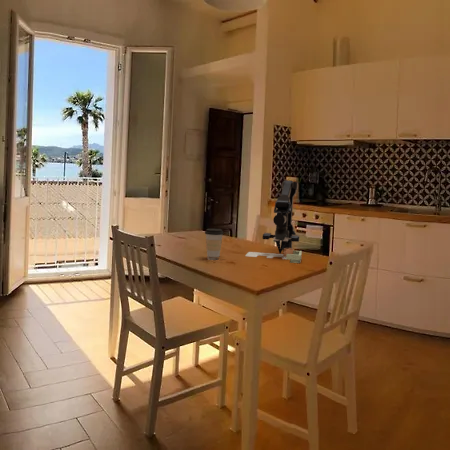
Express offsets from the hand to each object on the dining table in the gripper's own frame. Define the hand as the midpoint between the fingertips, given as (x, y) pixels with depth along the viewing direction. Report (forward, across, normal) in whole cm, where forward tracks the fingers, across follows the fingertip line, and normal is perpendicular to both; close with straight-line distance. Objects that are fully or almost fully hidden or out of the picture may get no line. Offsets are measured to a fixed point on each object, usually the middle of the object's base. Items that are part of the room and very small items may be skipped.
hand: (280, 253), depth 242 cm
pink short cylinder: (+1, +4, 0) cm, 4 cm away
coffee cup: (+3, -32, -16) cm, 36 cm away
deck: (+3, -3, -2) cm, 5 cm away
